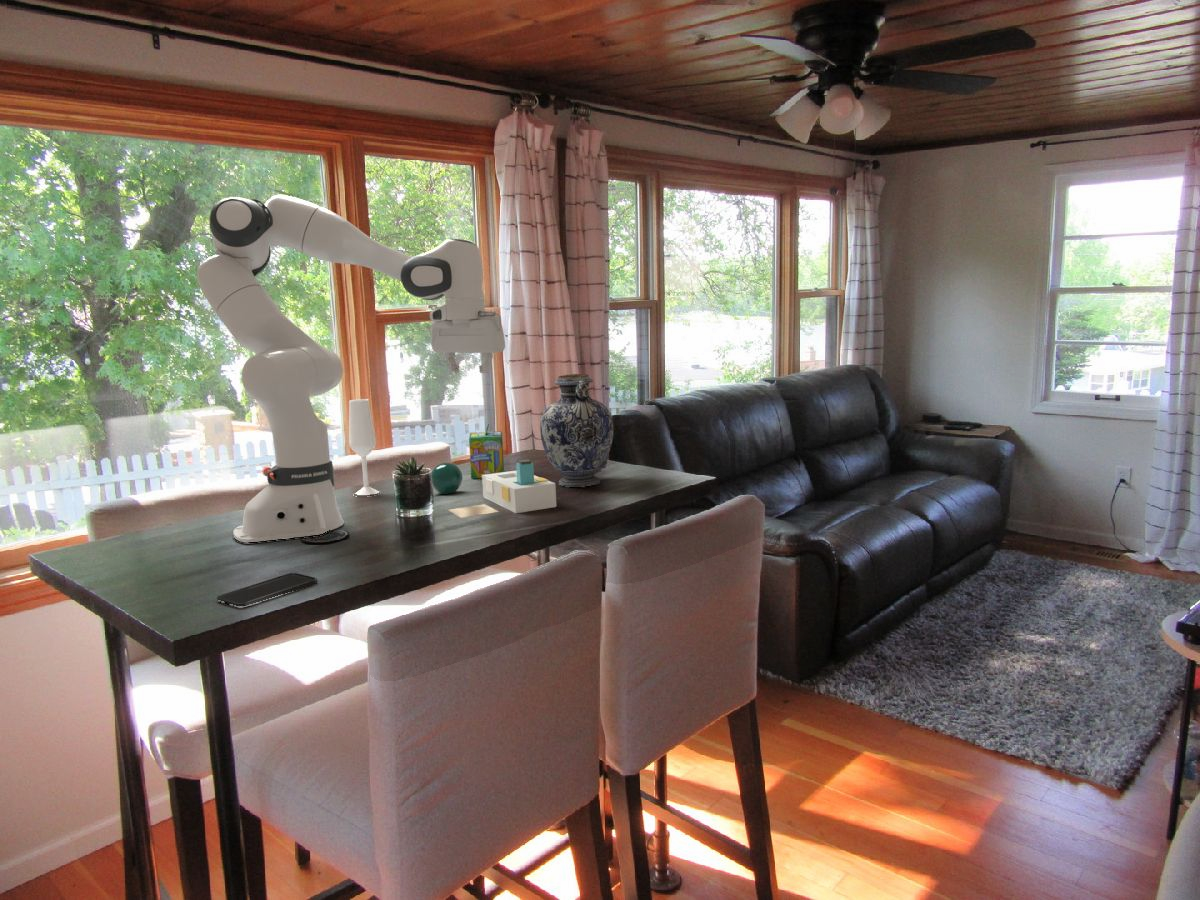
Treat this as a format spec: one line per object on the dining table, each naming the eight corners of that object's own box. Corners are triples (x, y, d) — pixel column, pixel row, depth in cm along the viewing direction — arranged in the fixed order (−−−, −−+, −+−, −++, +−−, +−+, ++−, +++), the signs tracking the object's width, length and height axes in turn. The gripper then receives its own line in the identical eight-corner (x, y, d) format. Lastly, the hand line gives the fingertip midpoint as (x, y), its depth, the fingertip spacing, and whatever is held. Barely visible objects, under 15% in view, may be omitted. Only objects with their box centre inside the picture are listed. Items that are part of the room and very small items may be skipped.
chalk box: (471, 473, 245) (468, 420, 242) (504, 471, 246) (501, 419, 243) (470, 479, 236) (466, 425, 233) (504, 477, 236) (501, 423, 234)
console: (514, 515, 193) (513, 488, 192) (482, 499, 210) (480, 474, 209) (556, 509, 198) (555, 482, 197) (521, 493, 215) (520, 468, 214)
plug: (521, 499, 197) (519, 462, 196) (517, 497, 200) (515, 460, 199) (535, 498, 198) (533, 461, 197) (531, 495, 201) (529, 458, 200)
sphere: (425, 493, 220) (423, 462, 218) (454, 488, 224) (452, 458, 223) (440, 498, 213) (437, 466, 212) (469, 493, 218) (467, 462, 217)
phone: (320, 578, 151) (241, 604, 139) (320, 585, 151) (242, 611, 139) (292, 572, 155) (213, 596, 143) (292, 578, 155) (214, 603, 143)
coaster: (461, 520, 191) (461, 517, 191) (447, 512, 199) (447, 509, 199) (499, 514, 195) (499, 511, 195) (484, 506, 203) (484, 504, 203)
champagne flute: (376, 496, 219) (368, 401, 215) (349, 497, 219) (341, 402, 215) (383, 490, 225) (376, 398, 221) (357, 491, 226) (349, 399, 221)
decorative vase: (625, 487, 217) (620, 375, 212) (552, 495, 212) (545, 381, 208) (604, 472, 237) (598, 370, 233) (537, 479, 233) (530, 375, 228)
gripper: (509, 310, 195) (512, 372, 197) (444, 312, 206) (448, 370, 209) (490, 311, 190) (493, 374, 192) (424, 313, 201) (428, 373, 204)
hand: (469, 372), depth 200 cm, fingers open, 8 cm apart
